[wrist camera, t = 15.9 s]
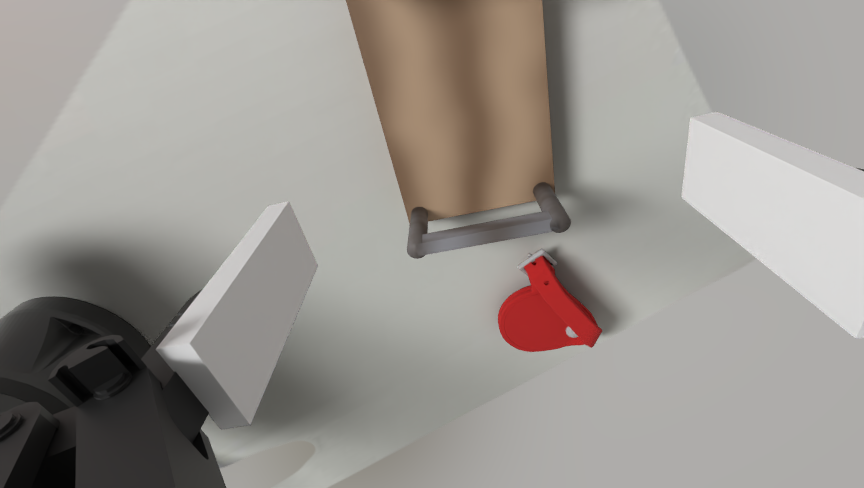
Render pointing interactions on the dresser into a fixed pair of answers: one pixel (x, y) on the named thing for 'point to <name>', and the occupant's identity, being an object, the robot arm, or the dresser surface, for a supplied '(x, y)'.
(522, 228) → the wooden serving tray
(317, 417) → the dresser surface
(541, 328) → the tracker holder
